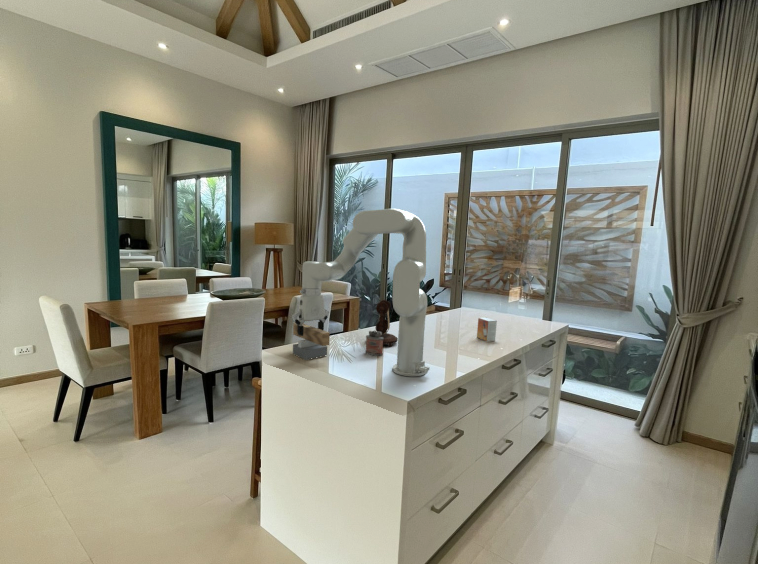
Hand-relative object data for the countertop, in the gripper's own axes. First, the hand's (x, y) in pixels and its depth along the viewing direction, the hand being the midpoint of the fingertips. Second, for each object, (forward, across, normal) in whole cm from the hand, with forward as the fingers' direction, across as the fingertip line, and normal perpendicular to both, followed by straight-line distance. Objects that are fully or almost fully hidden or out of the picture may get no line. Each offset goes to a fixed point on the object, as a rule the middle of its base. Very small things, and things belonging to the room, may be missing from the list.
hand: (310, 333), depth 161 cm
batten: (+3, 0, 0) cm, 3 cm away
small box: (+10, +88, -28) cm, 93 cm away
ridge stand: (+9, 0, 0) cm, 9 cm away
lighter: (+10, +23, -14) cm, 28 cm away
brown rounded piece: (+10, +38, -3) cm, 39 cm away
